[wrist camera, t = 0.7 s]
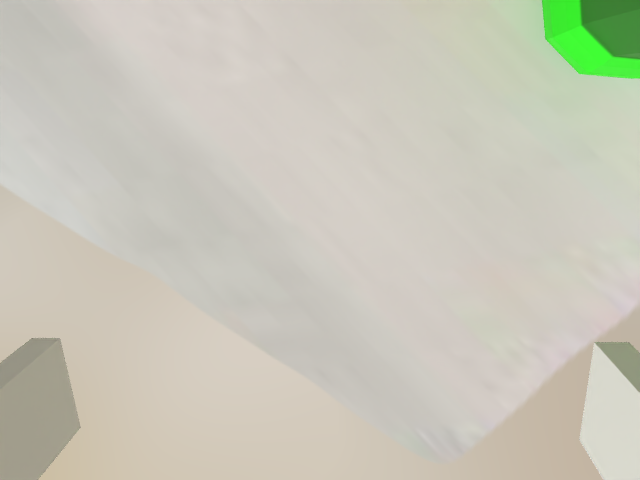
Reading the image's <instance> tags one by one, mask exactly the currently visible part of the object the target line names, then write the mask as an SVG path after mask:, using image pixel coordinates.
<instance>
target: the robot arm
mask: <svg viewBox="0 0 640 480" xmlns="http://www.w3.org/2000/svg"><path fill="white" fill-rule="evenodd" d="M79 429H80V423H79V419H78V414H77V410H76V406H75V401H74V397H73V392H72V388H71V384H70V380H69V375H68V371H67V367H66V362H65V358H64V354H63V350H62V345H61V341H60V339H59V338H32V339H30V340H29V341H28V342H26V343H25V344H24V345H23V346H21V347H20V348H19V349H17V350H16V351H15V352H14V353H12V354H11V355H10V356H8V357H7V358H6V359H5V360H3V361H2V362H1V363H0V480H38V479H39V478H40V477H41V475H42V474H43V473H44V472H45V471H46V469H47V468H48V467H49V466H50V464H51V463H52V462H53V461H54V459H55V458H56V457H57V456H58V455H59V453H60V452H61V451H62V450H63V448H64V447H65V446H66V445H67V444H68V442H69V441H70V440H71V439H72V437H73V436H74V435H75V434H76V432H77V431H78V430H79ZM579 440H580V442H581V443H582V445H583V447H584V448H585V450H586V452H587V453H588V455H589V456H590V458H591V460H592V461H593V463H594V465H595V466H596V468H597V470H598V471H599V473H600V475H601V476H602V478H603V480H640V353H639V352H638V351H637V350H636V349H635V348H634V347H633V346H632V345H631V344H630V343H627V342H624V343H622V342H618V343H617V342H594V349H593V354H592V361H591V367H590V374H589V381H588V387H587V394H586V400H585V406H584V413H583V419H582V426H581V433H580V439H579Z"/></svg>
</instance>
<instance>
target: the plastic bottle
mask: <svg viewBox="0 0 640 480" xmlns="http://www.w3.org/2000/svg"><path fill="white" fill-rule="evenodd" d="M542 5H543V16H544V28H545V39H546V40H547V41H548V42H549V43H550V44H551V45H552V46H553V47H554V48H555V49H556V50H557V52H558V53H559V54H560V55H561V56H562V57H563V58H564V59H565V60H566V61H567V62H568V63H569V64H570V65H571V66H572V67H573V68H574V69H575V70H576V71H577V72H578V73H579V74H586V75H597V76H608V77H619V78H640V0H542Z"/></svg>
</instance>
